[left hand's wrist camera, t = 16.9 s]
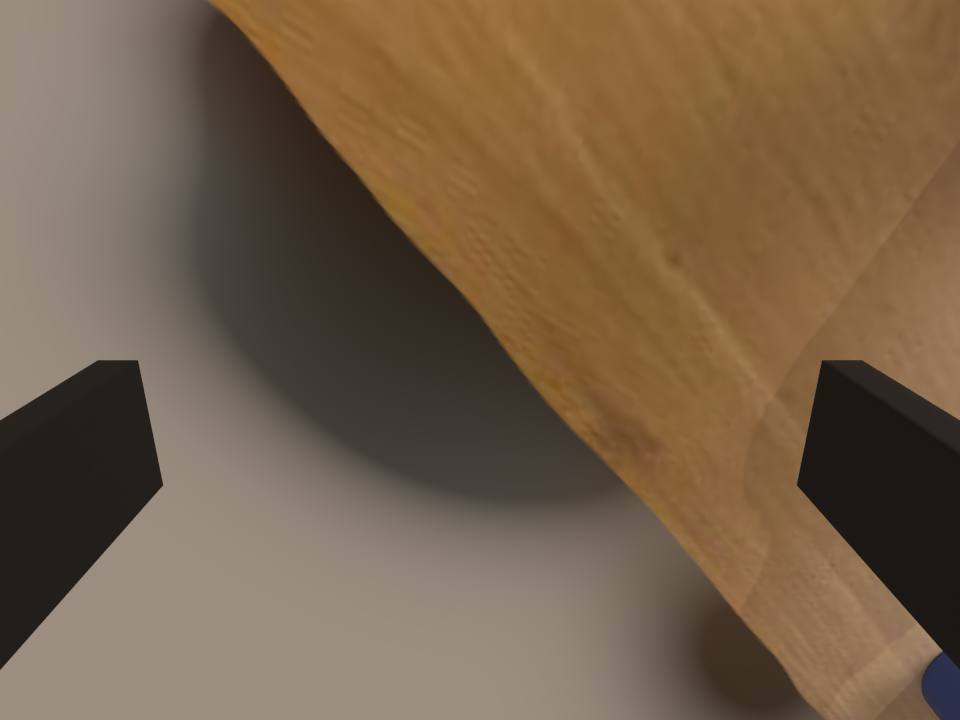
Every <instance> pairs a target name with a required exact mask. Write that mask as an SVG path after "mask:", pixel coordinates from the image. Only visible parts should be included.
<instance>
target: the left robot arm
mask: <svg viewBox="0 0 960 720" xmlns="http://www.w3.org/2000/svg"><path fill="white" fill-rule="evenodd" d="M162 486H163V482H162V477H161V472H160V467H159V462H158V458H157V453H156V448H155V443H154V438H153V433H152V428H151V423H150V418H149V413H148V408H147V403H146V398H145V393H144V388H143V383H142V378H141V373H140V368H139V363H138V361H137V360H98V361H96V362H95V363H93V364H91V365H90V366H88V367H86V368H85V369H83V370H82V371H80V372H78V373H77V374H75V375H74V376H72V377H70V378H69V379H67V380H65V381H64V382H62V383H60V384H59V385H57V386H56V387H54V388H52V389H51V390H49V391H47V392H46V393H44V394H43V395H41V396H39V397H38V398H36V399H34V400H33V401H31V402H29V403H28V404H26V405H25V406H23V407H21V408H20V409H18V410H16V411H15V412H13V413H12V414H10V415H8V416H7V417H5V418H3V419H2V420H0V670H1V668H2V667H3V666H4V665H5V664H6V663H7V662H8V660H9V659H10V658H11V657H12V656H13V655H14V654H15V653H16V651H17V650H18V649H19V648H20V647H21V646H22V645H23V643H24V642H25V641H26V640H27V639H28V638H29V637H30V635H31V634H32V633H33V632H34V631H35V630H36V629H37V628H38V626H39V625H40V624H41V623H42V622H43V621H44V620H45V619H46V617H47V616H48V615H49V614H50V613H51V612H52V611H53V609H54V608H55V607H56V606H57V605H58V604H59V603H60V602H61V600H62V599H63V598H64V597H65V596H66V595H67V594H68V592H69V591H70V590H71V589H72V588H73V587H74V586H75V584H76V583H77V582H78V581H79V580H80V579H81V578H82V577H83V575H84V574H85V573H86V572H87V571H88V570H89V569H90V567H91V566H92V565H93V564H94V563H95V562H96V561H97V560H98V558H99V557H100V556H101V555H102V554H103V553H104V552H105V550H106V549H107V548H108V547H109V546H110V545H111V544H112V543H113V541H114V540H115V539H116V538H117V537H118V536H119V535H120V533H121V532H122V531H123V530H124V529H125V528H126V527H127V526H128V524H129V523H130V522H131V521H132V520H133V519H134V518H135V516H136V515H137V514H138V513H139V512H140V511H141V510H142V509H143V507H144V506H145V505H146V504H147V503H148V502H149V501H150V499H151V498H152V497H153V496H154V495H155V494H156V493H157V492H158V490H159V489H160V488H161V487H162ZM797 486H798V487H799V488H800V489H801V490H802V492H803V493H804V494H805V495H806V496H807V497H808V498H809V499H810V501H811V502H812V503H813V504H814V505H815V506H816V507H817V509H818V510H819V511H820V512H821V513H822V514H823V515H824V516H825V518H826V519H827V520H828V521H829V522H830V523H831V524H832V526H833V527H834V528H835V529H836V530H837V531H838V532H839V533H840V535H841V536H842V537H843V538H844V539H845V540H846V541H847V543H848V544H849V545H850V546H851V547H852V548H853V549H854V550H855V552H856V553H857V554H858V555H859V556H860V557H861V558H862V560H863V561H864V562H865V563H866V564H867V565H868V566H869V567H870V569H871V570H872V571H873V572H874V573H875V574H876V575H877V577H878V578H879V579H880V580H881V581H882V582H883V583H884V585H885V586H886V587H887V588H888V589H889V590H890V591H891V592H892V594H893V595H894V596H895V597H896V598H897V599H898V600H899V602H900V603H901V604H902V605H903V606H904V607H905V608H906V609H907V611H908V612H909V613H910V614H911V615H912V616H913V617H914V619H915V620H916V621H917V622H918V623H919V624H920V625H921V626H922V628H923V629H924V630H925V631H926V632H927V633H928V634H929V636H930V637H931V638H932V639H933V640H934V641H935V642H936V643H937V645H938V646H939V647H940V648H941V649H942V650H943V651H944V653H945V654H946V655H947V656H948V657H949V658H950V659H951V660H952V662H953V663H954V664H955V665H956V666H957V667H958V668H959V670H960V420H958V419H957V418H955V417H953V416H952V415H950V414H948V413H947V412H945V411H944V410H942V409H940V408H939V407H937V406H935V405H934V404H932V403H931V402H929V401H927V400H926V399H924V398H922V397H921V396H919V395H918V394H916V393H914V392H913V391H911V390H909V389H908V388H906V387H905V386H903V385H901V384H900V383H898V382H896V381H895V380H893V379H891V378H890V377H888V376H887V375H885V374H883V373H882V372H880V371H878V370H877V369H875V368H874V367H872V366H870V365H869V364H867V363H865V362H864V361H862V360H822V363H821V368H820V373H819V378H818V383H817V388H816V393H815V398H814V403H813V408H812V413H811V418H810V423H809V428H808V433H807V438H806V443H805V448H804V452H803V457H802V462H801V467H800V472H799V477H798V482H797Z"/></svg>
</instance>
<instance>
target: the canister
mask: <svg viewBox="0 0 960 720" xmlns="http://www.w3.org/2000/svg"><path fill="white" fill-rule="evenodd" d="M922 692H923V696H924V698H925V700H926V702H927V703H928V704H929V706H930V707H931V708H932V709H933V711H934V712H935V713H936V715H937V716H938V717H939V718H940V720H960V670H959V668H958V667H957V666H956V665H955V664H954V663H953V662H952V660H951V659H950V658H949V657H948V656H947V655H946V654H945V653H944V652H943V653H942V654H941V655H939V656H938V657H937V658H936V659H935V660H934V661H933V662H932V663H931V664H930V666H929V667H928V669H927V670H926V672H925V674H924V677H923V680H922Z"/></svg>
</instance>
